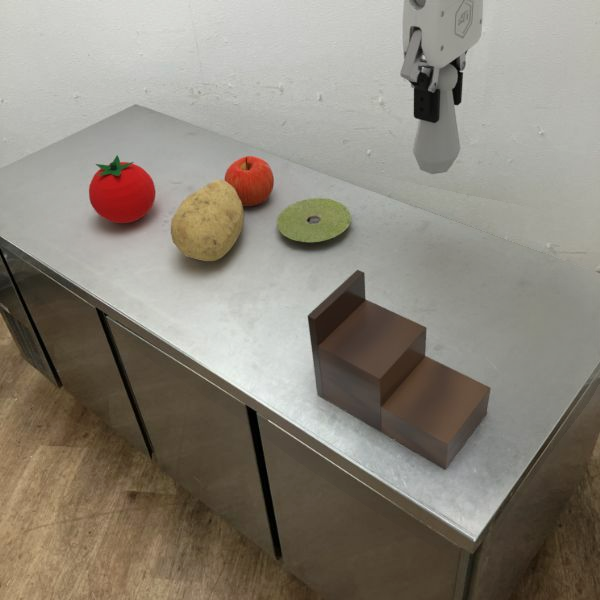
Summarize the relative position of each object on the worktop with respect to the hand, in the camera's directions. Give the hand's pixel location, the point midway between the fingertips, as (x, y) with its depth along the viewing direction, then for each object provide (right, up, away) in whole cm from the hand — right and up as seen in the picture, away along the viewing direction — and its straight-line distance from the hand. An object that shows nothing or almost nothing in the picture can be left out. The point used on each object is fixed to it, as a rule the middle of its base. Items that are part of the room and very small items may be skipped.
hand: (437, 109), depth 78 cm
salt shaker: (+1, -6, +5) cm, 8 cm away
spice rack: (-5, -35, -5) cm, 36 cm away
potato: (-29, -15, +21) cm, 39 cm away
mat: (-14, -12, +22) cm, 29 cm away
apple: (-24, -7, +29) cm, 39 cm away
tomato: (-45, -9, +29) cm, 54 cm away
